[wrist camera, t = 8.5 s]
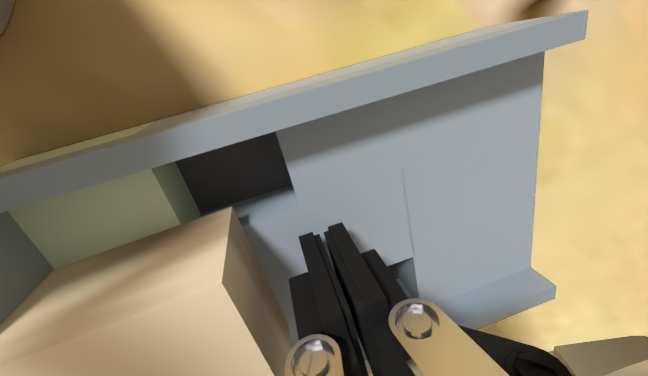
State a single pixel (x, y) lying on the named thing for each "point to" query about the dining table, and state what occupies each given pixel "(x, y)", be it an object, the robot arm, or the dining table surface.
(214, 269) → the block
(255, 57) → the dining table surface
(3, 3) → the coffee mug
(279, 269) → the tray
